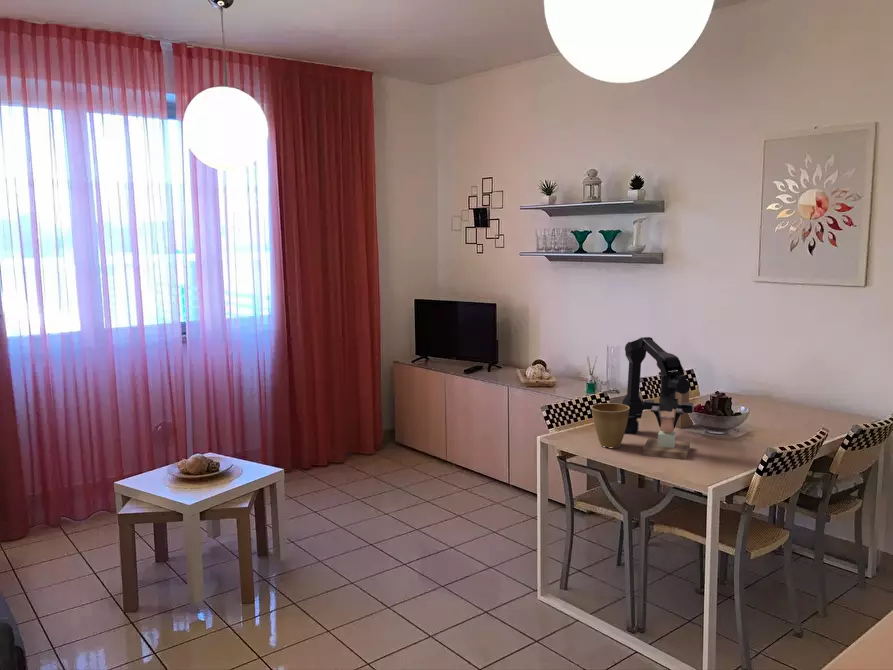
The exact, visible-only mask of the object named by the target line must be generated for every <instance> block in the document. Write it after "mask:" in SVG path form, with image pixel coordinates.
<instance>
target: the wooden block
mask: <svg viewBox="0 0 893 670" xmlns="http://www.w3.org/2000/svg"><path fill="white" fill-rule="evenodd" d="M676 399H678V404H679V405H682V404H683V402H685V403H690V390H689V391H688V392H687V393H685V394H681V393H678V392H676ZM676 411H677V410H676V409H673V418H674V420H675V413H676ZM689 426H690V427H694V426H693V422H692V420H691V419H690V417H689V415H688V413H684V414H681V415H680V417H679V419H678V421H677V424H676V427H675V428H679V429H684V428H688V427H689ZM690 427H689V428H690Z"/></svg>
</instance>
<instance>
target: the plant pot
mask: <svg viewBox="0 0 893 670" xmlns="http://www.w3.org/2000/svg"><path fill="white" fill-rule="evenodd" d="M590 408H591V414H592V419H593V424H594V425H593V426H594V428H595V432H596V434H597V435H596V436H597V438H598V441H599V443H600V446H601V445H602V446H605V447H613V448H612V449H615V448H614V447H618V448H620V447H621V444H622V442H623V439H624V436H625V434H626V433H625V430H626V426H627V421H628V416H629V409H630V407H629V406H627V405H623V404H622V403H612V402H606V403H603V402H602V403H596V404H593V405H592V406H591V407H590ZM602 446H601V447H602ZM605 447H604V448H605Z"/></svg>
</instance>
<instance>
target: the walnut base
mask: <svg viewBox="0 0 893 670" xmlns="http://www.w3.org/2000/svg"><path fill="white" fill-rule="evenodd" d="M690 448H691V442H690V441H685V440H677V439H676V441H675V446H674V448H668V447H658V438H655V437H654V438H653V437H648V438H647V440H646V441H645V444H644V446H643V447H642V456H646V455H647V456H648V457H656V456H657V458H665V457H666V459H667V458H668V459H675V460H676V459H677V460H685V459H686V460H687V458H688V455H689V452H690Z"/></svg>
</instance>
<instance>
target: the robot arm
mask: <svg viewBox="0 0 893 670" xmlns="http://www.w3.org/2000/svg"><path fill="white" fill-rule="evenodd" d="M624 351H625V357H626V359H627V361H628V375H627V388H626V389H627V390H626V396H625V397H624V398H623V400H622V403H621V404H623V405H627V406H629V407H630V409H629V416H628V421H627V426H626V430H625V433H624V434H628V433H634V434H633V435H637V433H638V432H639V430H640V427H639V425H640V421H639V419H641V418H642V416H643V411H644V410H649V411H650V412H652V413H653V414H654V416H655V417H656V420H657V423H658V426H659V428H661V417H662V415H661V412H667V413H668V412H669V413H672V411H674V409H676V410H677V411H676V413H675V420H674V430H675V429H676V428H677V427H676V424H677V421H678V419H679V417H680V415H681V414H684V413H690V414H693V413H694V410H695V408H694V407H695V405H694V403H693V402H689V403H685V402H683V404H682V405H679V404H678V399H676V392H678V393H681V394H685V393H687V392H688V391H689V392H690V389H691V383H690V381H689V380H688V379H687V376H686V375H685V372H684V371H685V369H684V368H683V366H682V363H681V360H680V359H679V357H678V356H677V355H675V354H674V353H670V352H669V353H668V352H667V351H665V349H664V348H662V347H661V346H660V345H659V344H658V343H656V342H655V340H654V339H653V337H650V336H645V337H639V338H637V339H635V340H632V341H628V342H627V343H626V344H625V346H624ZM647 353H648V354H649V355H650V356H651V357H652V358H653V359H654V360H655V361H656V366H657V368H658V369H659V370H660V371H659V372H658V376H660V396H659V398H658V399H659V401H658V402H655V400H654V399H644V400H641V397H640V387H641V385H640V384H641V371H642V363H643V362H644V360H645V358H646V356H647Z"/></svg>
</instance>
